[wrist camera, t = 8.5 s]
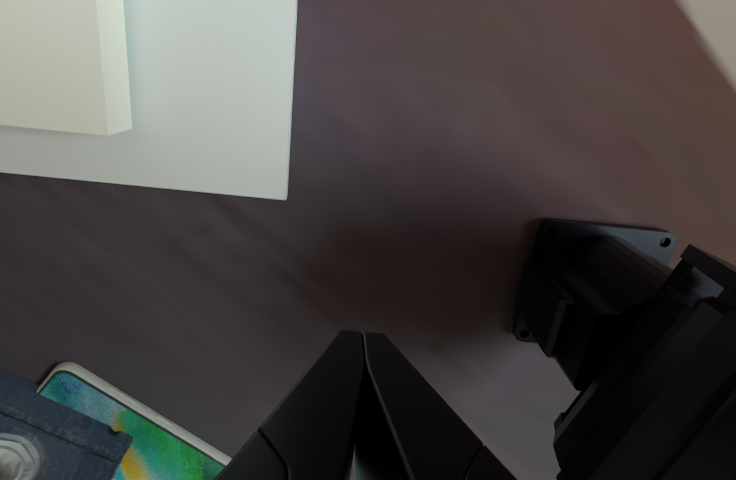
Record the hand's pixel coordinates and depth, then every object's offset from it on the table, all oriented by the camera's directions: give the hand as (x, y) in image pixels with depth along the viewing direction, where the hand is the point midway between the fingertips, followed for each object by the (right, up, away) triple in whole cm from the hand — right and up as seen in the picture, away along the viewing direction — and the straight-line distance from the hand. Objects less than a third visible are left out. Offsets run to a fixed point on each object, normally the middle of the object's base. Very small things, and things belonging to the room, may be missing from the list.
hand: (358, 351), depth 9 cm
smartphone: (-12, -11, +18) cm, 25 cm away
